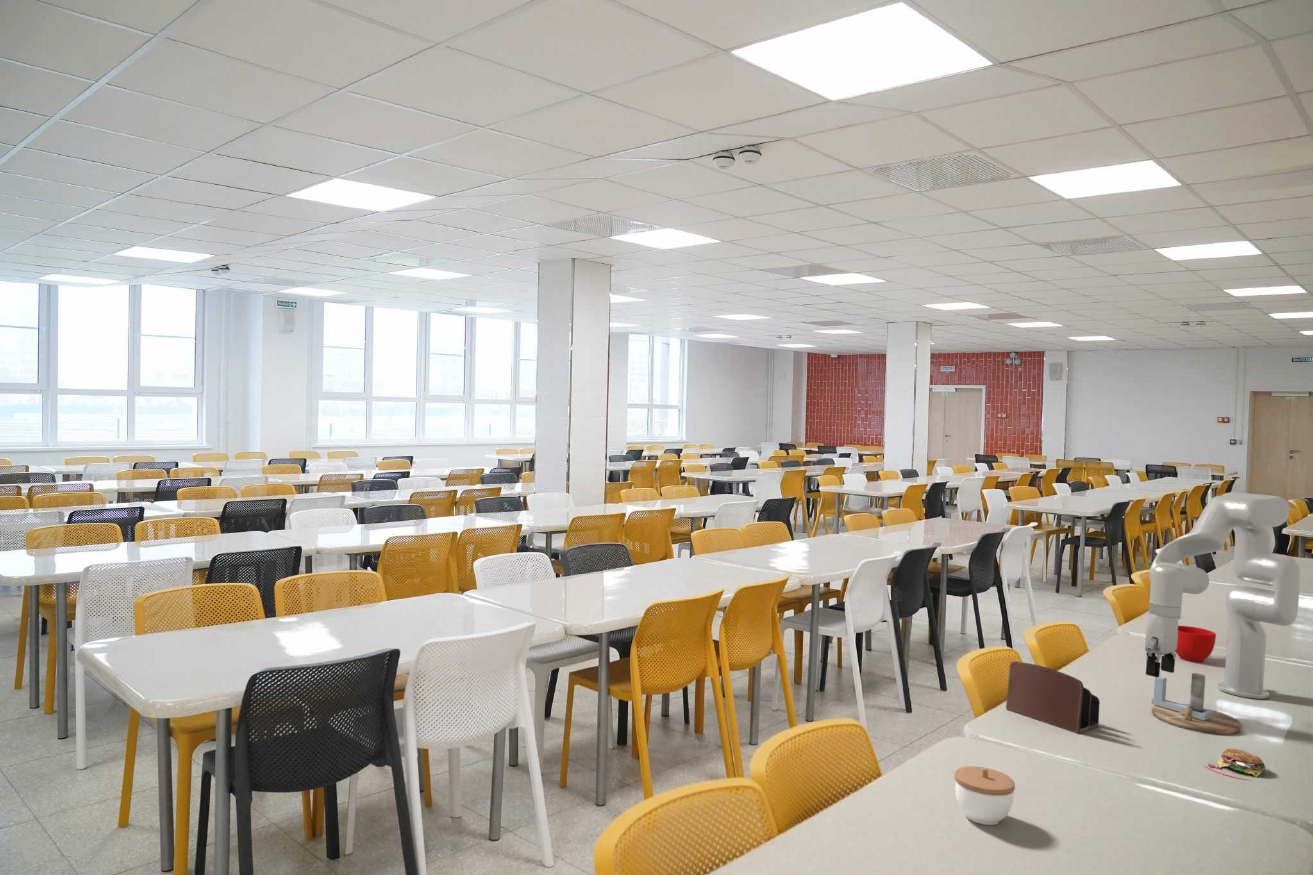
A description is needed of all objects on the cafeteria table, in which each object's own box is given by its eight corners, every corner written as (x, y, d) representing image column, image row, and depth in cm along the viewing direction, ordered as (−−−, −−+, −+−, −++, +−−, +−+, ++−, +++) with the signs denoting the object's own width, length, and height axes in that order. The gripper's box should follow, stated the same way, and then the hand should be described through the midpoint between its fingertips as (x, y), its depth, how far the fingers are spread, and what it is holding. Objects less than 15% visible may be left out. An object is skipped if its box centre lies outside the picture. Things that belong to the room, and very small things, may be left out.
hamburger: (1205, 752, 202) (1207, 728, 202) (1277, 772, 192) (1279, 746, 192) (1190, 767, 192) (1192, 741, 192) (1265, 788, 182) (1267, 761, 182)
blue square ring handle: (1213, 716, 223) (1214, 688, 222) (1204, 720, 219) (1206, 691, 219) (1157, 701, 233) (1159, 674, 233) (1148, 704, 230) (1150, 677, 229)
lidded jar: (943, 804, 166) (945, 757, 166) (995, 804, 167) (998, 757, 166) (968, 831, 155) (970, 780, 155) (1023, 831, 156) (1026, 781, 156)
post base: (1169, 702, 237) (1172, 659, 237) (1253, 725, 222) (1256, 679, 221) (1139, 715, 225) (1142, 670, 225) (1225, 740, 209) (1228, 691, 209)
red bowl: (1213, 656, 291) (1215, 628, 291) (1214, 667, 277) (1216, 637, 277) (1169, 649, 298) (1171, 621, 298) (1168, 659, 284) (1170, 630, 284)
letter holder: (1078, 735, 209) (1082, 678, 208) (1005, 710, 225) (1008, 657, 224) (1099, 727, 214) (1102, 673, 214) (1026, 704, 231) (1029, 653, 230)
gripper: (1162, 605, 238) (1158, 666, 238) (1136, 610, 227) (1131, 673, 227) (1192, 611, 232) (1187, 673, 232) (1166, 617, 221) (1161, 681, 221)
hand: (1159, 673), depth 230 cm, fingers open, 9 cm apart
